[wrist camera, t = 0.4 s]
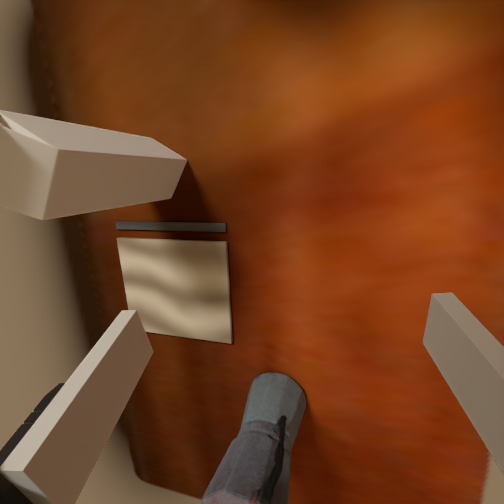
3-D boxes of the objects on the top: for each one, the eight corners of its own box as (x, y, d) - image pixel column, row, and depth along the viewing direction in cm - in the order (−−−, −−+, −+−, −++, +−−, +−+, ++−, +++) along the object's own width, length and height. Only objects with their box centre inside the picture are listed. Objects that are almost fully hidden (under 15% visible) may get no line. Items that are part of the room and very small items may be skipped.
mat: (116, 221, 43) (113, 221, 42) (226, 223, 38) (224, 223, 37) (134, 327, 48) (131, 329, 47) (232, 341, 43) (231, 343, 42)
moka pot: (235, 411, 47) (172, 569, 28) (265, 340, 41) (210, 478, 23) (288, 438, 45) (258, 624, 27) (326, 368, 40) (321, 540, 21)
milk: (138, 177, 40) (-69, 183, 19) (152, 137, 37) (-66, 95, 17) (172, 199, 39) (-4, 229, 19) (189, 159, 37) (9, 145, 16)
